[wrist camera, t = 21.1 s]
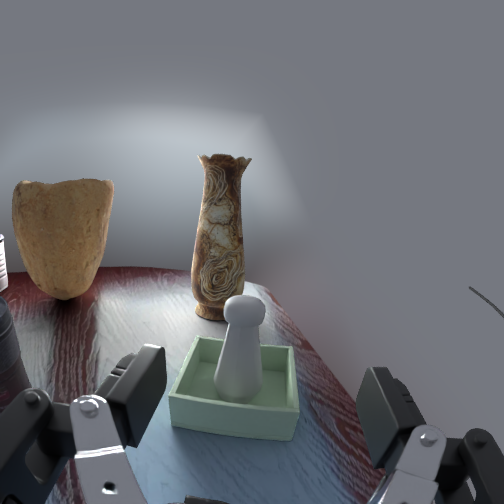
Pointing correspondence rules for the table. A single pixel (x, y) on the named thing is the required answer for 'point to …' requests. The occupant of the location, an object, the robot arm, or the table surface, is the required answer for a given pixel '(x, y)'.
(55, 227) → the tan rough tapered pot
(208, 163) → the vase
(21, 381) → the camera lens
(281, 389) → the open box
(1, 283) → the can
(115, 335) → the table surface
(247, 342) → the salt shaker
